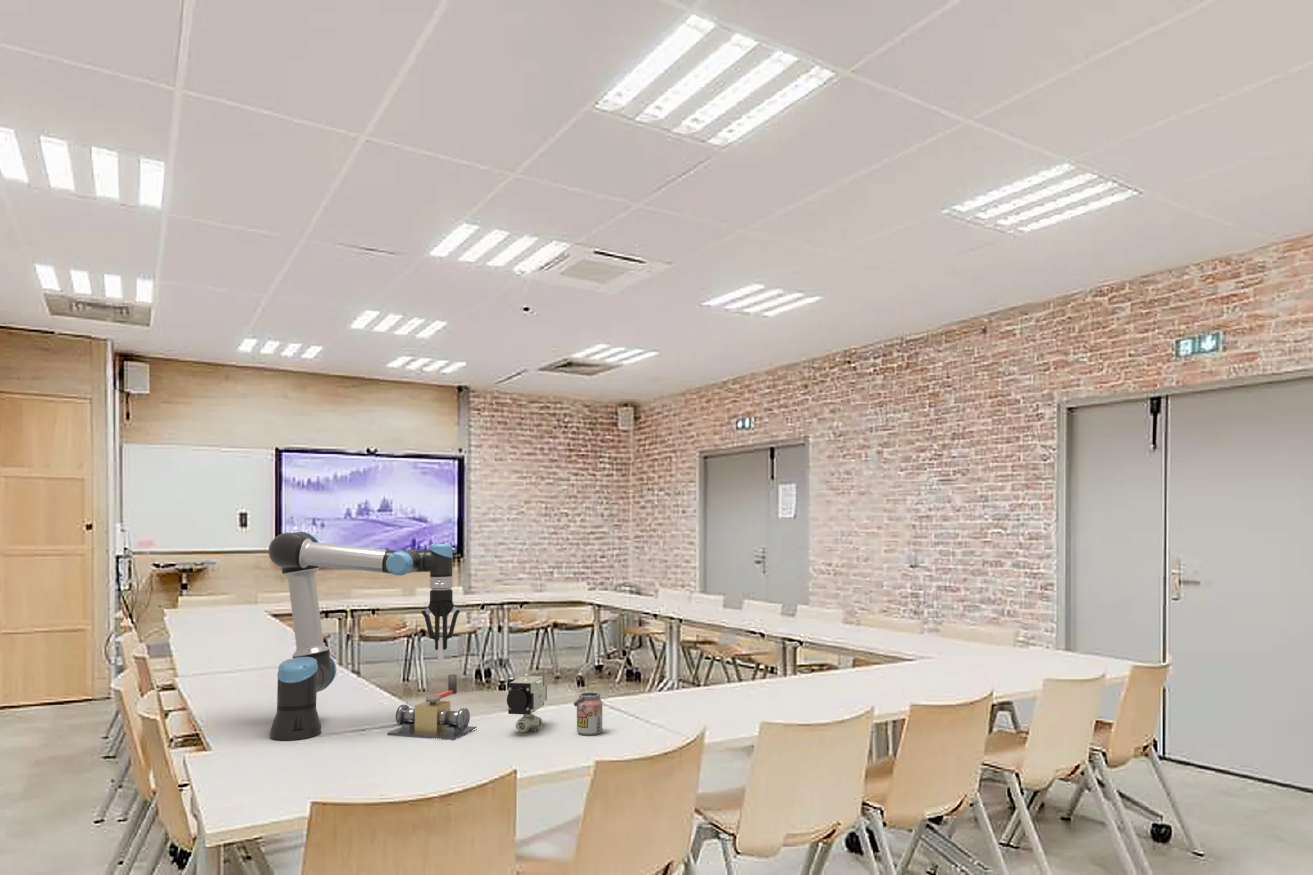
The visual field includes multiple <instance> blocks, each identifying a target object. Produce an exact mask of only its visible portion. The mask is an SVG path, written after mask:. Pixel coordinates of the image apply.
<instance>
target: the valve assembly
mask: <svg viewBox="0 0 1313 875" xmlns="http://www.w3.org/2000/svg"><path fill="white" fill-rule="evenodd" d="M470 719H471V714H470V711H469V709H468V708H466V707H465V708H464V707H463V708H462V707H461V708H460V709H459V710H451V701H447V700H440V701H437V702H426V701H424V702H420V703H417V704H415V706H414V708H413V707H410V706H409V705H407V704H401V705H399V706H398V707H397V709H396V712H395V722H396V724H397V725H398V726H401V727H398V728H394V729H392V730H390V731H388V732H387V734H386V735H387V736H395V737H404V738H405V737H407V738H420V739H421V738H422V739H432V738H433V739H434V738H435V739H434V740H446V739H451V740H450V741H455V740H457V739H456V738H458V737H460V738H462V737H464V736H465V734H466V733H468V732H470V733H472V732H473V731H472V730H473V729H475V728H478V727H477V726H471V725H470V726H469V724H470ZM471 731H472V732H471ZM468 734H469V733H468ZM463 735H464V736H463ZM466 735H467V734H466ZM461 736H462V737H461ZM436 738H437V739H436ZM438 738H439V739H438ZM440 738H441V739H440ZM458 739H459V738H458Z"/></svg>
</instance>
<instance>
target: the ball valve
mask: <svg viewBox="0 0 1313 875" xmlns="http://www.w3.org/2000/svg"><path fill="white" fill-rule="evenodd" d="M507 686H508V690H507V692H508V694H507V697H506V704H507V706H508V707H507V708H508V709H507V710H508V712H507V714H508V715H522V717H520V718H519V719H518V720H517V721H516V724H515V728H516V730H517V731H518V733H522V734H525V733H527V732H528V731H530V732H531V731H532V732H536V731H538V730H541V729H542V725H543V720H542V717H540V716H537V715H535V714H533V713H535V712H536V711H538V710H539V709H540V708H542V707H544V705H545V702H546V701H547V700H548V699H547V698H548V689H547V687H548V685H547V684H546V685H545V676H544V675H530V674H529V673H525V674H524V675H522V676H519V677H518V678H516V679H515V680H513V681H510V682H509V683H508V684H507Z"/></svg>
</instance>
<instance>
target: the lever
mask: <svg viewBox="0 0 1313 875" xmlns="http://www.w3.org/2000/svg"><path fill="white" fill-rule="evenodd" d="M457 679H458V675H457V673H455V674H453V673H452V674H448V678H447V681H448V682H447V684H448V685H447V690H445V691H443V692H439V693H437V694H435V695H428V696H425V702H437V701H441V700H442V699H443V698H446V697H449V696H451V695H456V694H457V693H458V692H457V691H458V690H457V689H458V680H457Z"/></svg>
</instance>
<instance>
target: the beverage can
mask: <svg viewBox="0 0 1313 875" xmlns="http://www.w3.org/2000/svg"><path fill="white" fill-rule="evenodd" d="M578 696H579V697H578V698H577V699H576V700H575V701H574V702H573V706H574V707H576V732H577V733H578V735H581V736H586V737H589V736H590V737H591V736H597V735H598V736H599V735H600V734H601V733H602V732H603V701H602V699H601V693H600V692H593V691H592V692H591V691H589V692H583V693H580V694H579V695H578Z"/></svg>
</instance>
